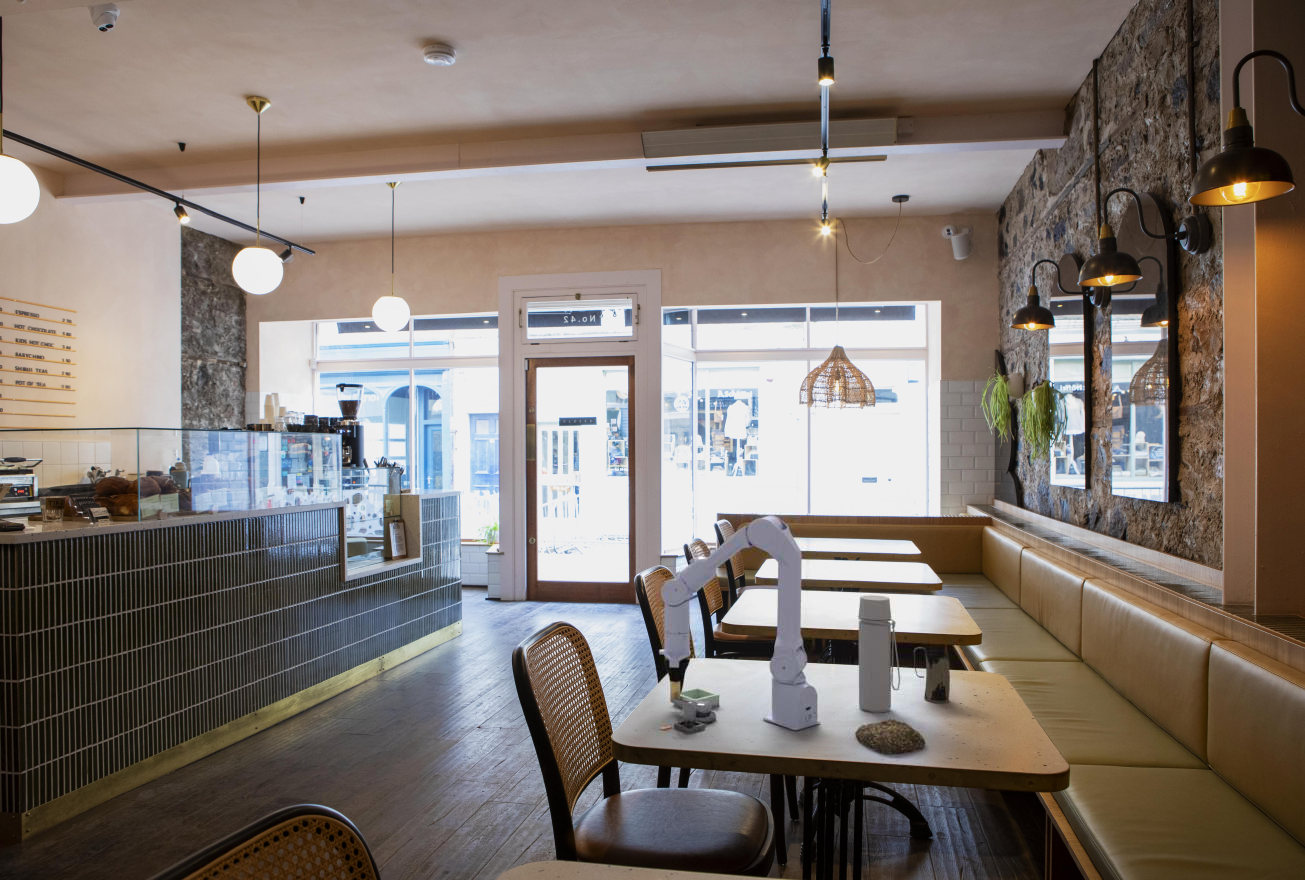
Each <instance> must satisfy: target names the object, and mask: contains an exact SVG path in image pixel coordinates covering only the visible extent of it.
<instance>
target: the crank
mask: <svg viewBox="0 0 1305 880" xmlns="http://www.w3.org/2000/svg"><path fill="white" fill-rule="evenodd" d="M669 683H670V685H669V687H670V689H669V690H670V691H669V696H670V697H669V698H670V699H669V700H670V703H671V704H673V705H675V704H678V705H682V706H683V702H684V701H695V702H696V716H708V715H710V714H711V711H712V708H711V702H709V701H704V700H692V699H688V698H684V697H680V681H679V680H672V681H670V680H669Z"/></svg>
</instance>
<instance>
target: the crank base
mask: <svg viewBox="0 0 1305 880" xmlns="http://www.w3.org/2000/svg"><path fill="white" fill-rule="evenodd" d="M716 721H717V713H716V712H715V711H713V710H711V714H710V715H708V716H696V726H694V727H690V728H688V727H685V726H683V720H681V721H678V722H674V723H673V727H672V726H671V725H667V726H663V727H660V728H659V730H661V731H665V730H668V729H673V728H674V729H676V730H677V731H681V732H682V733H685V734H688V735H689V734H692V733H697V732H701V731H703V730H706V724H708V725H709V724H712V723H714V722H716Z"/></svg>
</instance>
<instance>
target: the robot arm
mask: <svg viewBox="0 0 1305 880" xmlns="http://www.w3.org/2000/svg"><path fill="white" fill-rule="evenodd" d="M751 547H755V548H758V549H760V550H762V551H764V552H767V554H769V556H771V557H772V558H773V559H774V560H775V561H776V562H777V568H778V569H777V614H776V615H777V617H776V618H777V621H776V623H777V626H776V631H777V632H776V639H775V642H774V646H773V647H774V652H773V656H772V658H771V659H770V662H769V671H770V673H771V675H772V676H771V714H770V715H766V716H763V717H762V719H763V720H764V721H766V722H770V723H772V724H775V725H779V726H780V727H781V726H782V727H784V728H787V729H789V730H793V731H798V730H802V729H806V728H809V727H811V726H812V727H813V726H815V725H819V724H820V723H821V721H820V720H818V692H817V689H816V688H815V687H814V686H813V685H811V684H809V683H808V681H807V679H806V677H807V676H806V674H805V673H804V671H803V670H804V669H805V667H806V666H807V663H808V656H807V653H806V651H805V648H804V639H803V637H802V634H801V626H802V625H801V624H802V622H801V620H802V616H801V615H802V612H801V611H802V604H801V603H802V565H803V564H802V558H803V555H802V551H801V548H800V547H799V545H798V543H797V541H796V540H795V538H794V537H793V534H792V533H791V529H790V527H789V525H788V524H787V523H786V522H784V521H783V520H782V519H780V518H779V517H777V516H776V515H766V516H763V517H762V518H756V519H754V520H752V521H751V522H750V524H746V525H745V526H743V527H741V528H740V529H738V530H737V531H735V532H734V533H733V534H732V535H731V536H730V537H729V538H727V539H726V540H725V541H723V543H722V544H721V545H720V546H719V547H718V548H716V549H715V550H714V551H713V552H712V553H710V555H708V556H698V557H692V558H691V559H690V560H689V564H688V565H687V566H686V567H685V568H683V569H682V570H681V571H679V570H678V571H677V572H675V573H674V576H675V578H672V579H667V580H665V582H664V584H663V585H662V586H661V589H660V596H661V598H662V601H663V602H664V611H663V613H664V621H663V622H664V624H663V625H664V626H663V627H664V636H663V637H664V643H663V644H664V649H659V650H658V653H659V655H664V657H665V659H664V661H663V665H664V668H665V669H666V671H667V674H668V678H669V682H670V681H672V680H679V681H680V693H681V692H682V691H683V687H684V682H685V677H686V671H687V669H688V667H689V664H690V662H691V658H689V656H690V655H691V650H690V648H691V647H690V645H691V642H690V640H691V639H690V637H691V636H690V635H691V634H690V632H691V631H690V625H691V624H690V623H691V622H690V621H691V620H690V600H691V599H692V597H693V595H694V594H696V593H697V592H699V590H701V589H702V588H703V587H705V585H707V584H708V583H709V582H711V581H712V580H713V579H715V577H716V576H717V569H718V568H719V567H720V566H721V565H723V564H724V563H726V561H728V560H729V559H731V558H732V557H733V556H734V555H736V554H737V553H738V552H739V551H741V550H742V549H747V548H748V549H749V548H751Z"/></svg>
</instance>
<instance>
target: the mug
mask: <svg viewBox="0 0 1305 880" xmlns="http://www.w3.org/2000/svg"><path fill="white" fill-rule="evenodd" d="M919 649H920V650H924V653H925V663H926V664H925V667H926V668H925V669H926V671H925V676H926V678H925V676H924V675H923V676H920V675H918V671H917V665H916V651H917V650H919ZM913 659H914V661H913V662H914V671H915V674H916V676H917V677H918V678H922V679H924V678H925V689H924V696H923V697H924V698H923V699H924V701H926V702H928V703H933V704H939V705H940V704H947V703H950V691H951V689H950V688H951V685H950V684H951V683H950V679H951V674H950V673H951V672H950V662H949V654H948V652H946V651H945V650H938V649H930V650H927V649H926V648H925V647H923V646H917V647H915V648H914V650H913Z"/></svg>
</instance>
